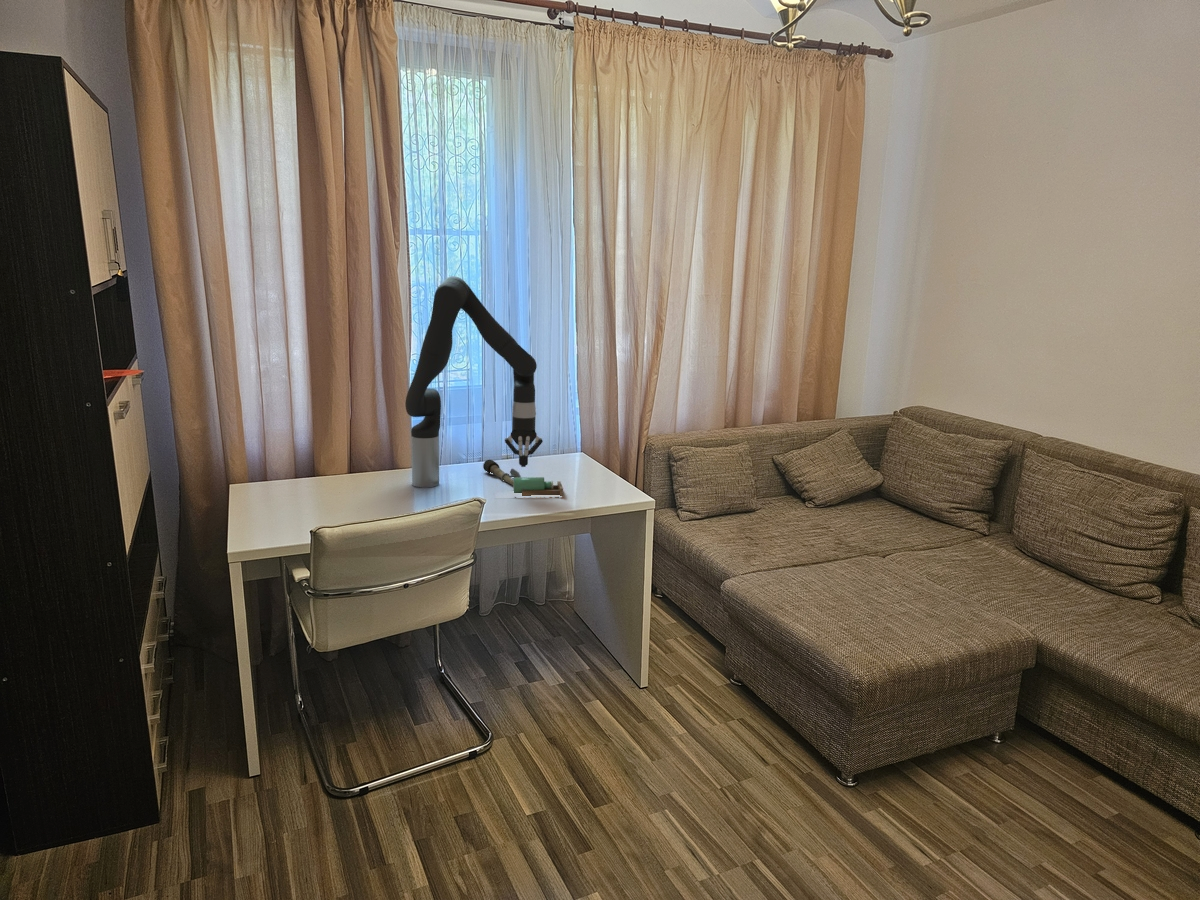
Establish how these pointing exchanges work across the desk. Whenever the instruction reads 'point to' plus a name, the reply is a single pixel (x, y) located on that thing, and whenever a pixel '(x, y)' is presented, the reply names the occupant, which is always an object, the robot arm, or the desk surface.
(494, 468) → the wall sconce
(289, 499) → the desk surface
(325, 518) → the desk surface
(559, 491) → the cradle
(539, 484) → the bottle
